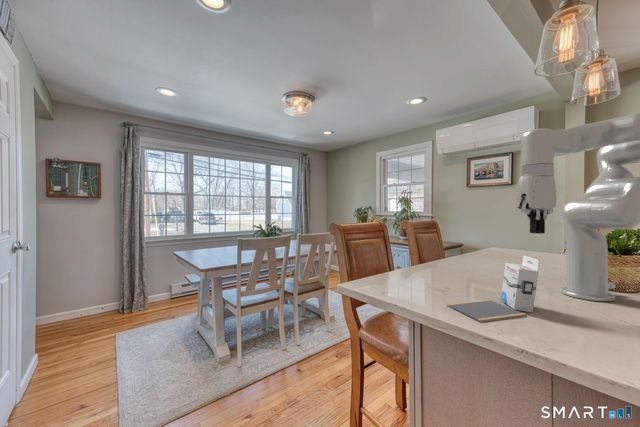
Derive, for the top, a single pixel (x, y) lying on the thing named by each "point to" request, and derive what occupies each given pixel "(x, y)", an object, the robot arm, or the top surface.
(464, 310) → the mat
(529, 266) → the ink box
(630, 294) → the top surface
